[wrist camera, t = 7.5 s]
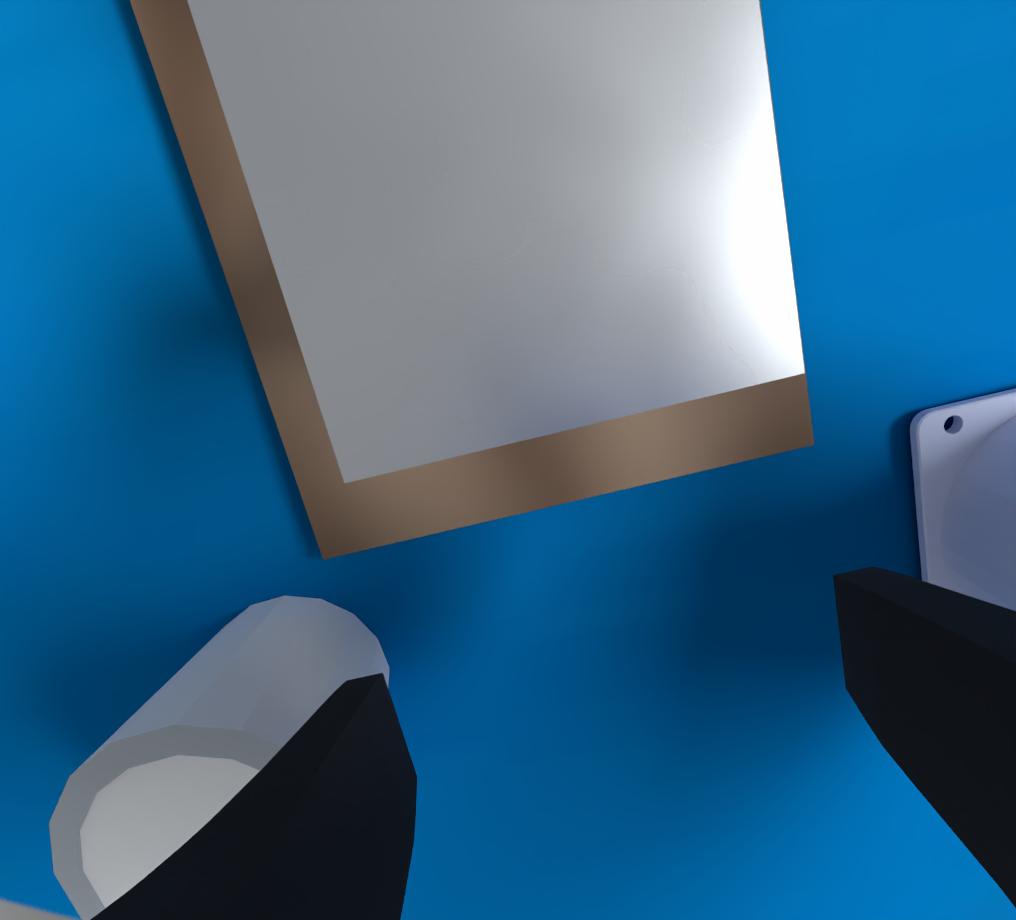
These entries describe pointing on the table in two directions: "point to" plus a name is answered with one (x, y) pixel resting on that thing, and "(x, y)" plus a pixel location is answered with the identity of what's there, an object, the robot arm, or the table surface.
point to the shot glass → (201, 742)
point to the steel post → (510, 209)
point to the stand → (455, 481)
